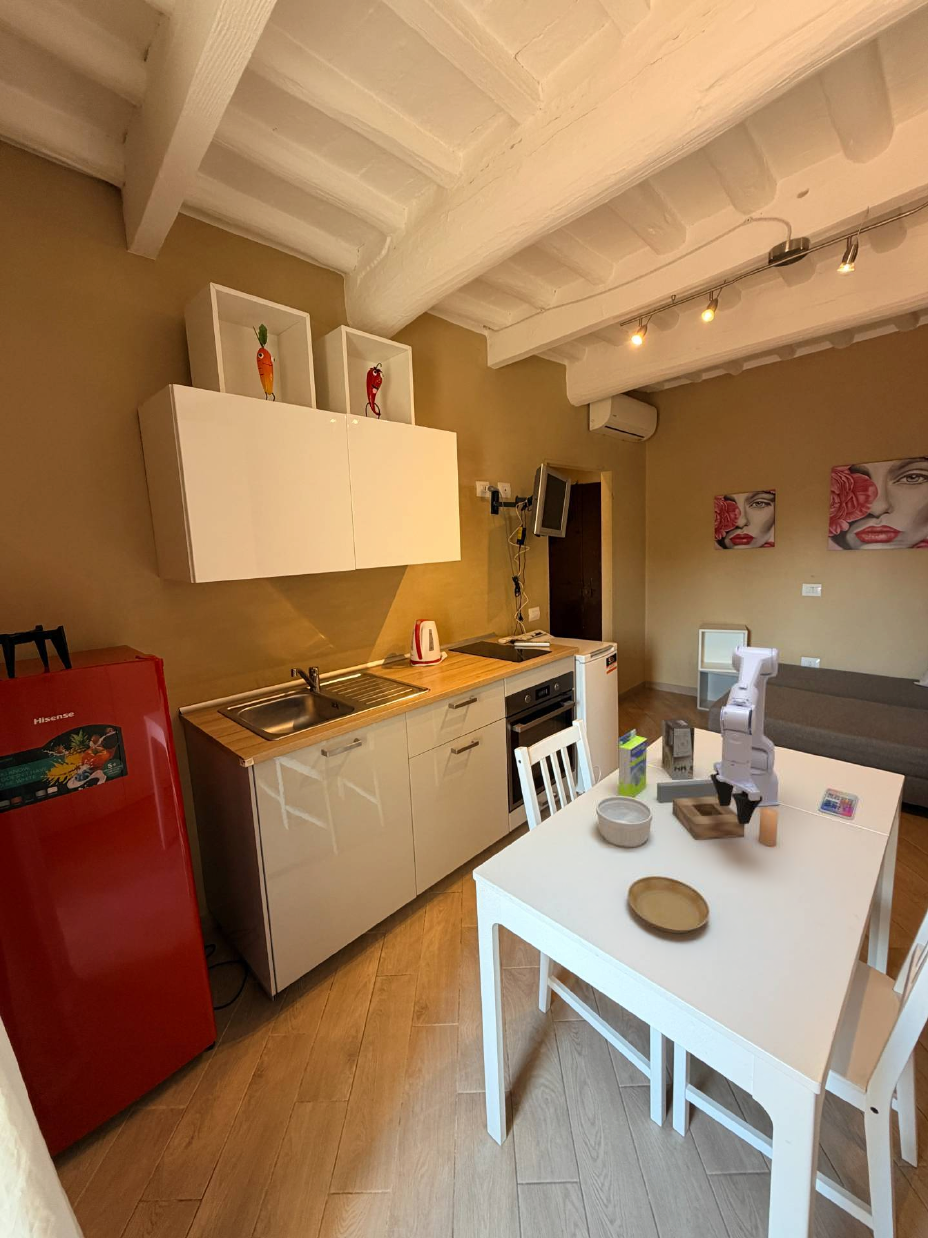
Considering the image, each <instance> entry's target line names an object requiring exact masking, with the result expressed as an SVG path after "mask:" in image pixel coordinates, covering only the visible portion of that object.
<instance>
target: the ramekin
mask: <svg viewBox="0 0 928 1238" xmlns="http://www.w3.org/2000/svg"><path fill="white" fill-rule="evenodd" d="M595 809H596V810H595V813H596V815H597V821H598V828H599V831H600V834H601V835H602V837H604V839H605V840H606V841H608V842H610V843H611V844H613V845H616V846H619V847H623V848H624V847H625V848H633V847H639V846H641V845H643V844H644V843H645V842H646V841H648V839H649V836H650V832H651V825H652V820H653V809H652V808H651V807H650V806H649V805H648V804H647V803H646V802H644V801H642V800H640V799H638V798H635V797H634V798H632V797H626V796H619V795H612V796H607V797H604V798H602V799H600V800H599V801H598V802H597V804H596V808H595Z"/></svg>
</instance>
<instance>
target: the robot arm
mask: <svg viewBox="0 0 928 1238" xmlns="http://www.w3.org/2000/svg"><path fill="white" fill-rule="evenodd" d="M731 665H732V668H733V669H734V671H735V672H736V673H739V674H738V682H737V683H735V684H733V685H732V687H731V688H730V691H729V695H728V698H727V702H726V706H725V705H723V706H722V707H721V709H720V715H719V724H720V725H719V726H720V736H721V739H722V747H721V761H719V762H718V761H717V762H716V761H715V762H713V771H714V772H716V773H711V774H710V777H709V778H710V780H711V779H712V781H713V783H714V786H715V788H716V792H717V796H718V800H719V804H720V806H729V807H730V806H731V804H732V803H731V802H732V797H733V800H734V803H735V806H736V814H737V818H738V823H740V824H745V825H748V824H750V822H751V819H752V816H753V814H754V812H755V810H756V808H757V807H770V806H771V807H772V806H779V805H780V802H778V797H779V796H778V795H779V793H778V791H779V778H778V775H777V773H776V772H775V770H774V768H775V753H776V752H775V744H774V742H773V741H772V740H770V739H769V738H768V737H767V736H765V735H764V726H765V725H764V724H765V723H764V721H765V704H766V687H767V686H766V684H767V681H768V679H769V678H773V677H776V676H777V675H778V667H779V650H778V649H777V648H775V647H774V648H769V647H768V648H767V647H756V646H755V647H754V646H742V645H735V646H734V647H733V649H732V655H731ZM734 788H735V790H734Z"/></svg>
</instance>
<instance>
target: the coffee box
mask: <svg viewBox="0 0 928 1238" xmlns="http://www.w3.org/2000/svg"><path fill="white" fill-rule="evenodd" d="M661 721H662V727H661V728H662V731H661V732H662V733H661V734H662V735H661V737H662V738H661V740H662V741H661V744H662V745H661V746H662V747H661V748H662V750H661V752H662V753H661V767H662V768H663V769H664V771H665V772H666V773H667V774H668V775H669V777H671V779H673V780H688V779H689V780H692V779H694V761H695V760H694V758H695V756H694V754H695V752H694V751H695V729H696V728H695V727H694V726H693V725H692V724H690V723H689V722H687V720H685V719H684V718H682V717H676V718H674V717H673V718H663V719H661Z"/></svg>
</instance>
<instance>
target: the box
mask: <svg viewBox="0 0 928 1238" xmlns="http://www.w3.org/2000/svg"><path fill="white" fill-rule="evenodd" d="M636 730H637V729H636V728H634V729H633V730H631V731H630V732H628V733H626V734H624V735H623V736H621V737H620V738H618V796H626V797H632V798H635V797H636V796H638V795H639V794H641V792H642V791H644V790H645V789H646V787H647V751H648V738H647V737H642V736H638V735H637V731H636Z"/></svg>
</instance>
